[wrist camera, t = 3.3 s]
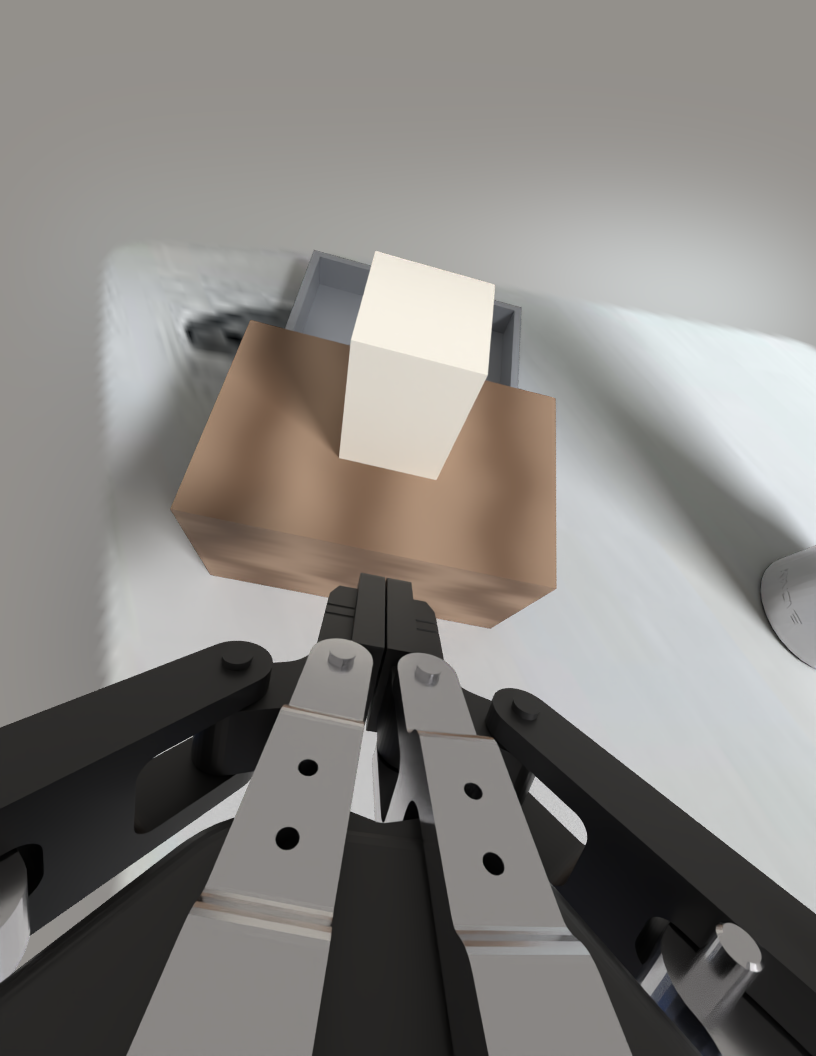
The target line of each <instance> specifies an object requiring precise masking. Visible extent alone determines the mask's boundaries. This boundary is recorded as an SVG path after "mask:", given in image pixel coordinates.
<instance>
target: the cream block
mask: <svg viewBox="0 0 816 1056" xmlns="http://www.w3.org/2000/svg"><path fill="white" fill-rule="evenodd" d="M494 293H495V284H491V283H488V282H484V281H481V280H477V279H473V278H470V277H466V276H463V275H459V274H456V273H452V272H448V271H445V270H441V269H438V268H434V267H431V266H427V265H423V264H420V263H417V262H413V261H409V260H406V259H402V258H399V257H395V256H392V255H388V254H385V253H381V252H378V251H375V254H374V258H373V261H372V265H371V269H370V272H369V276H368V280H367V283H366V287H365V291H364V294H363V298H362V301H361V305H360V309H359V312H358V316H357V320H356V323H355V327H354V331H353V334H352V338H351V344H350V354H349V364H348V374H347V384H346V394H345V403H344V413H343V423H342V433H341V443H340V453H339V458H341V459H346V460H350V461H354V462H359V463H363V464H368V465H372V466H376V467H381V468H385V469H390V470H394V471H398V472H403V473H407V474H412V475H416V476H420V477H425V478H429V479H434V480H437V478H438V476H439V474H440V472H441V470H442V467H443V465H444V463H445V461H446V459H447V457H448V455H449V453H450V451H451V449H452V447H453V445H454V443H455V441H456V439H457V437H458V435H459V433H460V431H461V429H462V427H463V425H464V423H465V420H466V418H467V416H468V414H469V412H470V410H471V408H472V406H473V404H474V402H475V400H476V398H477V396H478V394H479V392H480V390H481V388H482V386H483V384H484V382H485V380H486V378H487V376H488V365H489V353H490V341H491V329H492V317H493V305H494Z"/></svg>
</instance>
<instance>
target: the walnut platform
mask: <svg viewBox="0 0 816 1056" xmlns="http://www.w3.org/2000/svg"><path fill="white" fill-rule="evenodd" d="M349 354H350V345H346V344H342V343H338V342H334V341H331V340H327V339H323V338H319V337H315V336H311V335H307V334H303V333H299V332H295V331H292V330H288V329H284V328H280V327H276V326H272V325H268V324H264V323H260V322H256V321H253V320H250V322H249V324H248V327H247V329H246V331H245V334H244V336H243V339H242V341H241V343H240V346H239V348H238V350H237V353H236V355H235V357H234V360H233V362H232V365H231V367H230V369H229V372H228V374H227V376H226V379H225V381H224V383H223V386H222V388H221V391H220V393H219V395H218V398H217V400H216V402H215V405H214V407H213V409H212V412H211V414H210V416H209V419H208V421H207V424H206V426H205V428H204V431H203V433H202V435H201V438H200V440H199V442H198V445H197V447H196V450H195V452H194V454H193V457H192V459H191V461H190V464H189V466H188V468H187V471H186V473H185V475H184V478H183V480H182V483H181V485H180V487H179V490H178V492H177V494H176V497H175V499H174V501H173V504H172V506H171V509H170V510H171V511H172V513H173V514H174V516H175V518H176V519H177V521H178V523H179V524H180V526H181V527H182V529H183V531H184V532H185V534H186V535H187V537H188V539H189V540H190V542H191V544H192V545H193V547H194V548H195V550H196V552H197V553H198V555H199V557H200V558H201V560H202V561H203V563H204V565H205V566H206V568H207V570H208V571H209V573H210V574H211V575H214V576H219V577H224V578H230V579H235V580H240V581H245V582H250V583H256V584H261V585H266V586H271V587H277V588H282V589H287V590H292V591H297V592H303V593H308V594H313V595H318V596H323V597H329V594H330V592H331V591H333V590H334V589H335V588H337V587H338V586H339V585H340V586H345V587H351V588H356V589H357V586H358V581H359V577H360V573H366V574H372V575H377V576H382V577H385V581H386V578H392V579H398V580H403V581H408V582H411V583H412V591H413V599H414V600H419V601H425V602H427V604H428V605H429V606H430V607H431V608H432V610H433V611H434V612H435V616H436V618H438V619H443V620H448V621H454V622H459V623H464V624H469V625H474V626H480V627H485V628H492V627H494V626H495V625H497V624H499V623H500V622H502V621H504V620H505V619H507V618H509V617H510V616H512V615H514V614H515V613H517V612H519V611H520V610H522V609H524V608H525V607H527V606H528V605H530V604H532V603H533V602H535V601H537V600H538V599H540V598H542V597H543V596H545V595H547V594H548V593H550V592H552V591H553V590H555V589H556V402H555V398H553V397H549V396H545V395H541V394H537V393H533V392H529V391H525V390H522V389H518V388H514V387H510V386H506V385H502V384H498V383H494V382H490V381H486V380H485V382H484V384H483V386H482V388H481V390H480V392H479V394H478V396H477V398H476V400H475V402H474V404H473V406H472V408H471V410H470V412H469V414H468V416H467V418H466V420H465V423H464V425H463V427H462V429H461V431H460V433H459V435H458V437H457V439H456V441H455V443H454V445H453V447H452V449H451V451H450V453H449V455H448V457H447V459H446V461H445V463H444V465H443V467H442V470H441V472H440V474H439V476H438V478H437V480H434V479H429V478H425V477H420V476H416V475H412V474H407V473H403V472H398V471H394V470H390V469H385V468H381V467H376V466H372V465H368V464H363V463H359V462H354V461H350V460H346V459H341V458H339V453H340V443H341V433H342V423H343V413H344V403H345V394H346V384H347V374H348V364H349Z"/></svg>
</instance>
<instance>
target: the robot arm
mask: <svg viewBox="0 0 816 1056" xmlns="http://www.w3.org/2000/svg"><path fill="white" fill-rule="evenodd" d="M761 596H762V603H763V606H764V609H765V613H766V615H767V617H768V620H769V622H770V624H771V626H772V628H773V629H774V631H775V632H776V634H777V635H778V637H779V638H780V640H781V641H782V642H783V643H784V644H785V645H786V646H787V647H788V649H789V650H790V651H791V652H792V653H794V654H795V655H796V656H797V657H798V658H799V659H801V660H802V661H803V662H805V663H807V664H808V665H810V666H811V667H813V668H815V669H816V545H815V546H813V547H810V548H807V549H805V550H802V551H800V552H797V553H794V554H792V555H789V556H786V557H784V558H781V559H778V560H777V561H775V562H773V563H772V564H770V566H769V567H768V568H767V569H766V571H765V573H764V575H763V578H762V584H761ZM366 718H367V724H366V731H372V732H377V743H376V747H375V751H374V754H373V758H372V771H373V792H374V812H375V821H373V820H371V819H368V818H366V817H363V816H360V815H358V814H355V813H353V812H350V809H351V803H352V797H353V791H354V785H355V779H356V773H357V767H358V761H359V755H360V749H361V743H362V737H363V731H364V725H365V722H366ZM191 736H193V737H192V738H190V739H188V738H189V737H191ZM186 739H188V740H186ZM184 740H186V741H184ZM182 741H184V742H182ZM180 742H182V743H181V744H179V745H177V746H175V745H176V744H178V743H180ZM173 746H175V747H173ZM171 747H173V748H171ZM169 748H171V749H169ZM167 749H169V750H168V751H166V752H164V753H162V752H163V751H165V750H167ZM160 753H162V754H160ZM158 754H160V755H158ZM157 755H158V756H157ZM155 756H157V757H155ZM154 757H155V758H154ZM535 776H536V777H537V778H538V779H539V780H540V781H541V782H542V783H543V784H545V785H546V786H547V787H548V788H549V789H550V790H551V791H552V792H553V793H554V794H555V795H556V796H558V797H559V798H560V799H561V800H562V801H563V802H564V803H565V804H566V805H567V806H568V807H569V808H571V809H572V810H573V811H574V812H575V813H576V814H577V815H578V816H579V818H580V819H581V820H582V822H583V824H584V826H585V828H586V831H587V843H586V845H584V844H582V843H581V842H580V841H579V840H578V839H577V838H576V837H575V836H574V835H573V834H572V833H571V832H569V831H568V830H567V829H566V828H565V827H564V826H563V825H562V824H561V823H560V822H559V821H558V820H557V819H556V818H555V817H554V816H553V815H552V814H551V813H550V812H549V811H548V810H547V809H546V808H545V807H544V806H543V805H541V804H540V803H539V802H538V801H537V800H536V799H535V798H534V797H533V796H532V795H531V794H530V793H529V789H530V787H531V785H532V782H533V780H534V778H535ZM250 779H251V781H250V783H249V785H248V788H247V790H246V792H245V795H244V797H243V799H242V802H241V804H240V806H239V809H238V811H237V814H236V816H235V818H232V819H229V820H226V821H223V822H220V823H217V824H215V825H213V826H211V827H209V828H207V829H205V830H203V831H201V832H199V833H197V834H196V835H194V836H193V837H191V838H189V839H188V840H186V841H185V842H183V843H182V844H180V845H179V846H178V847H176V848H175V849H174V850H172V851H171V852H170V853H168V854H167V855H166V856H165V857H163V858H162V859H161V860H159V861H158V862H157V863H155V864H154V865H153V866H152V867H150V868H149V869H148V870H146V871H145V872H144V873H142V874H141V875H140V876H139V877H137V878H136V879H135V880H133V881H132V882H131V883H129V884H128V885H127V886H126V887H124V888H123V889H122V890H120V891H119V892H118V893H116V894H115V895H114V896H113V897H111V898H110V899H109V900H107V901H106V902H105V903H103V904H102V905H101V906H100V907H98V908H97V909H96V910H94V911H93V912H92V913H90V914H89V915H88V916H87V917H85V918H84V919H83V920H81V921H80V922H79V923H77V924H76V925H75V926H73V927H72V928H71V929H70V930H68V931H67V932H66V933H65V934H63V935H62V936H60V937H59V938H58V939H57V940H55V941H54V942H53V943H51V944H50V945H49V946H47V947H46V948H45V949H44V950H42V951H41V952H40V953H38V954H37V955H36V956H34V957H33V958H32V959H31V960H29V961H28V962H27V963H25V964H24V965H23V966H21V967H20V968H19V969H18V970H16V971H15V972H14V970H15V969H16V966H17V965H18V964H19V962H20V960H21V958H22V956H23V954H24V952H25V950H26V947H27V944H28V941H29V936H30V935H32V934H33V933H35V932H36V931H37V930H39V929H40V928H42V927H43V926H45V925H46V924H47V923H49V922H50V921H52V920H53V919H55V918H56V917H57V916H59V915H60V914H61V913H63V912H64V911H66V910H67V909H69V908H70V907H72V906H73V905H74V904H76V903H77V902H79V901H80V900H82V899H83V898H85V897H86V896H87V895H89V894H90V893H92V892H93V891H95V890H96V889H97V888H99V887H100V886H102V885H103V884H105V883H106V882H107V881H109V880H110V879H112V878H113V877H115V876H116V875H117V874H119V873H120V872H122V871H123V870H124V869H126V868H127V867H129V866H130V865H132V864H133V863H134V862H136V861H137V860H139V859H140V858H142V857H143V856H144V855H146V854H147V853H149V852H150V851H152V850H153V849H154V848H156V847H157V846H159V845H160V844H162V843H163V842H164V841H166V840H167V839H169V838H170V837H172V836H173V835H174V834H176V833H177V832H179V831H180V830H182V829H183V828H184V827H186V826H187V825H189V824H190V823H192V822H193V821H194V820H196V819H197V818H199V817H200V816H202V815H203V814H204V813H206V812H207V811H209V810H210V809H212V808H213V807H214V806H216V805H217V804H219V803H220V802H222V801H223V800H224V799H226V798H227V797H229V796H230V795H232V794H233V793H234V792H236V791H237V790H239V789H240V788H242V787H243V786H244V785H245V784H247V783H248V781H249V780H250ZM13 972H14V973H13ZM0 1056H816V914H815V913H814V912H812V911H811V910H810V909H809V908H807V907H806V906H805V905H803V904H802V903H801V902H800V901H798V900H797V899H796V898H794V897H793V896H792V895H791V894H789V893H788V892H787V891H786V890H784V889H783V888H782V887H780V886H779V885H778V884H777V883H775V882H774V881H773V880H771V879H770V878H769V877H768V876H766V875H765V874H764V873H762V872H761V871H760V870H759V869H757V868H756V867H755V866H753V865H752V864H751V863H750V862H748V861H747V860H746V859H744V858H743V857H742V856H741V855H739V854H738V853H737V852H735V851H734V850H733V849H732V848H730V847H729V846H728V845H726V844H725V843H724V842H723V841H721V840H720V839H719V838H718V837H716V836H715V835H714V834H712V833H711V832H710V831H709V830H707V829H706V828H705V827H703V826H702V825H701V824H700V823H698V822H697V821H696V820H694V819H693V818H692V817H691V816H689V815H688V814H687V813H685V812H684V811H683V810H682V809H680V808H679V807H678V806H676V805H675V804H674V803H673V802H671V801H670V800H669V799H667V798H666V797H665V796H664V795H662V794H661V793H660V792H659V791H657V790H656V789H655V788H653V787H652V786H651V785H650V784H648V783H647V782H646V781H644V780H643V779H642V778H641V777H639V776H638V775H637V774H635V773H634V772H633V771H632V770H630V769H629V768H628V767H626V766H625V765H624V764H623V763H621V762H620V761H619V760H617V759H616V758H615V757H614V756H612V755H611V754H610V753H608V752H607V751H606V750H605V749H603V748H602V747H601V746H599V745H598V744H597V743H596V742H594V741H593V740H592V739H591V738H589V737H588V736H587V735H585V734H584V733H583V732H582V731H580V730H579V729H578V728H576V727H575V726H574V725H573V724H571V723H570V722H569V721H567V720H566V719H565V718H564V717H562V716H561V715H560V714H558V713H557V712H556V711H555V710H553V709H552V708H551V707H549V706H548V705H547V704H546V703H544V702H543V701H542V700H540V699H539V698H537V697H536V696H534V695H532V694H530V693H528V692H526V691H523V690H519V689H514V688H505V689H501V690H499V691H497V692H496V693H495V694H494V696H493V699H492V701H490V700H488V699H485V698H483V697H480V696H478V695H475V694H473V693H471V692H469V691H467V690H465V689H463V688H462V687H461V686H460V683H459V680H458V677H457V674H456V672H455V671H454V669H453V668H452V667H451V666H450V665H449V664H448V663H447V662H445V661H444V659H443V653H442V648H441V643H440V637H439V634H438V627H437V621H436V616H435V612H434V611H433V610H432V608H431V607H430V606H429V605H428V604H427V602H425V601H419V600H414V599H413V591H412V583H411V582H408V581H403V580H398V579H392V578H386V581H385V577H382V576H377V575H372V574H366V573H360V577H359V581H358V586H357V589H356V588H351V587H345V586H340V585H339V586H338V587H337V588H335V589H334V590H333V591H331V592H330V594H329V598H328V602H327V606H326V610H325V614H324V618H323V622H322V626H321V630H320V634H319V638H318V642H317V644H315V645H314V646H313V647H312V649H311V651H310V654H309V655H308V656H306V657H304V658H302V659H299V660H295V661H291V662H278V663H273V660H272V657H271V655H270V654H269V652H268V651H267V650H266V649H264V648H263V647H261V646H259V645H257V644H254V643H250V642H245V641H228V642H223V643H220V644H216V645H214V646H211V647H209V648H206V649H203V650H201V651H198V652H196V653H193V654H190V655H188V656H185V657H183V658H180V659H177V660H175V661H172V662H170V663H167V664H164V665H162V666H159V667H157V668H154V669H151V670H149V671H146V672H144V673H141V674H138V675H136V676H133V677H131V678H128V679H125V680H123V681H120V682H118V683H115V684H112V685H110V686H107V687H105V688H102V689H99V690H97V691H94V692H92V693H89V694H86V695H84V696H81V697H79V698H76V699H74V700H71V701H68V702H66V703H63V704H61V705H58V706H55V707H53V708H51V709H48V710H45V711H42V712H40V713H37V714H34V715H32V716H30V717H27V718H24V719H22V720H19V721H16V722H14V723H11V724H9V725H6V726H3V727H1V728H0Z"/></svg>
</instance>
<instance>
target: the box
mask: <svg viewBox="0 0 816 1056" xmlns="http://www.w3.org/2000/svg"><path fill="white" fill-rule="evenodd" d="M370 269H371V266H370V265H366V264H363V263H359V262H356V261H352V260H348V259H345V258H341V257H338V256H334V255H331V254H327V253H323V252H320V251H316V250H314V252H313V254H312V257H311V260H310V262H309V265H308V268H307V271H306V273H305V276H304V279H303V281H302V284H301V287H300V289H299V292H298V295H297V298H296V300H295V303H294V306H293V308H292V311H291V314H290V316H289V319H288V322H287V325H286V327H285V329H288V330H292V331H295V332H299V333H303V334H307V335H311V336H315V337H319V338H323V339H327V340H331V341H334V342H338V343H342V344H346V345H350V344H351V338H352V334H353V331H354V327H355V323H356V320H357V316H358V312H359V309H360V305H361V301H362V298H363V294H364V291H365V287H366V283H367V280H368V276H369V272H370ZM520 329H521V307H518V306H514V305H510V304H507V303H503V302H500V301H496V300H494V305H493V317H492V329H491V341H490V353H489V365H488V376H487V378H486V381H490V382H494V383H498V384H502V385H506V386H510V387H514V388H518V375H519V352H520Z"/></svg>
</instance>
